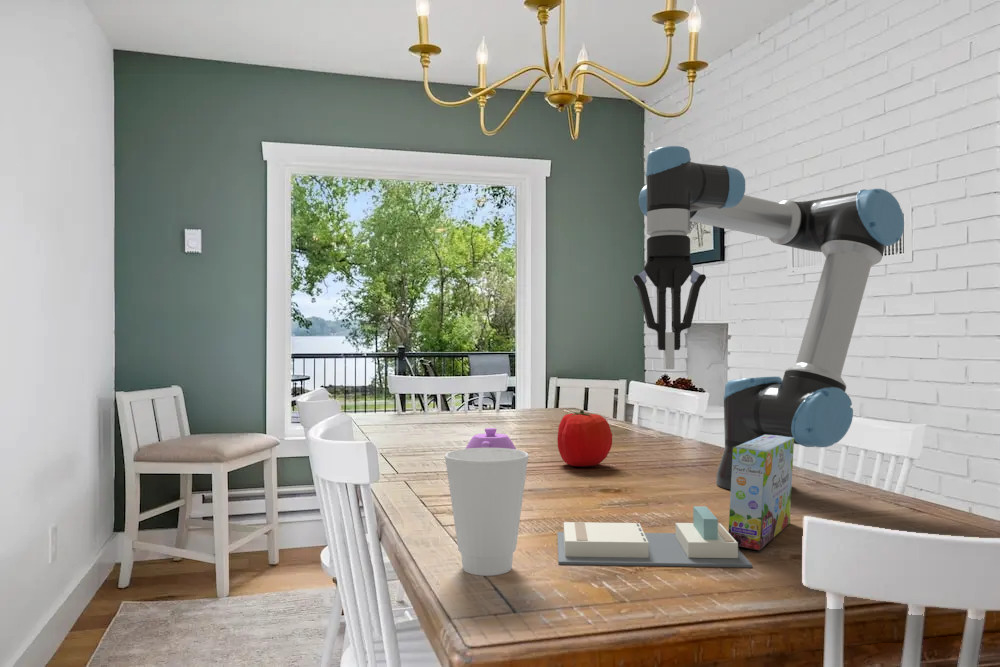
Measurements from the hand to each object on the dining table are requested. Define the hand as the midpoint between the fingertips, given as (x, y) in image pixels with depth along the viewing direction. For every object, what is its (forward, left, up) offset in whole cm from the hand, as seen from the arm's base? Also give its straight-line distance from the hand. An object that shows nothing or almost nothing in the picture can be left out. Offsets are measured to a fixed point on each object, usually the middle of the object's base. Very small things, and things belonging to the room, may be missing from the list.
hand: (668, 368), depth 133 cm
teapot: (+35, -41, -27) cm, 60 cm away
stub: (-2, +20, -26) cm, 33 cm away
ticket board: (+7, +20, -26) cm, 34 cm away
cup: (+30, +30, -27) cm, 50 cm away
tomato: (+13, -50, -27) cm, 58 cm away
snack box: (-13, +11, -26) cm, 31 cm away
